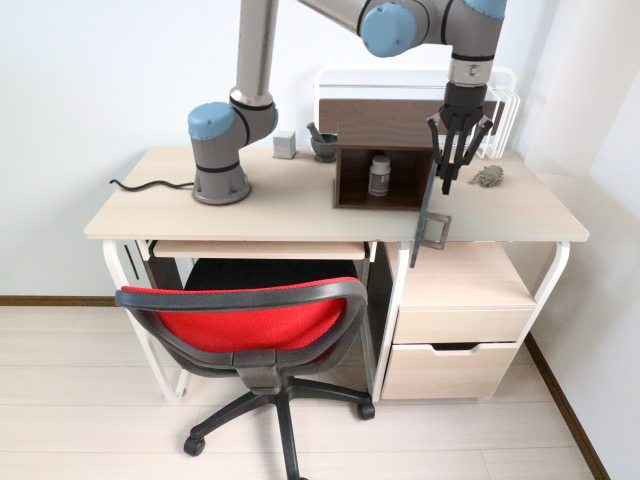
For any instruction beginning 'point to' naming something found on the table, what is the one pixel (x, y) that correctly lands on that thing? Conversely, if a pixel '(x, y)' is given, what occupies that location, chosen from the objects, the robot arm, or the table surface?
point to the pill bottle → (379, 176)
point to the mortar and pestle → (323, 144)
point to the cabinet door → (433, 217)
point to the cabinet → (405, 162)
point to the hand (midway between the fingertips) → (445, 191)
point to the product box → (284, 144)
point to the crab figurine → (489, 175)
